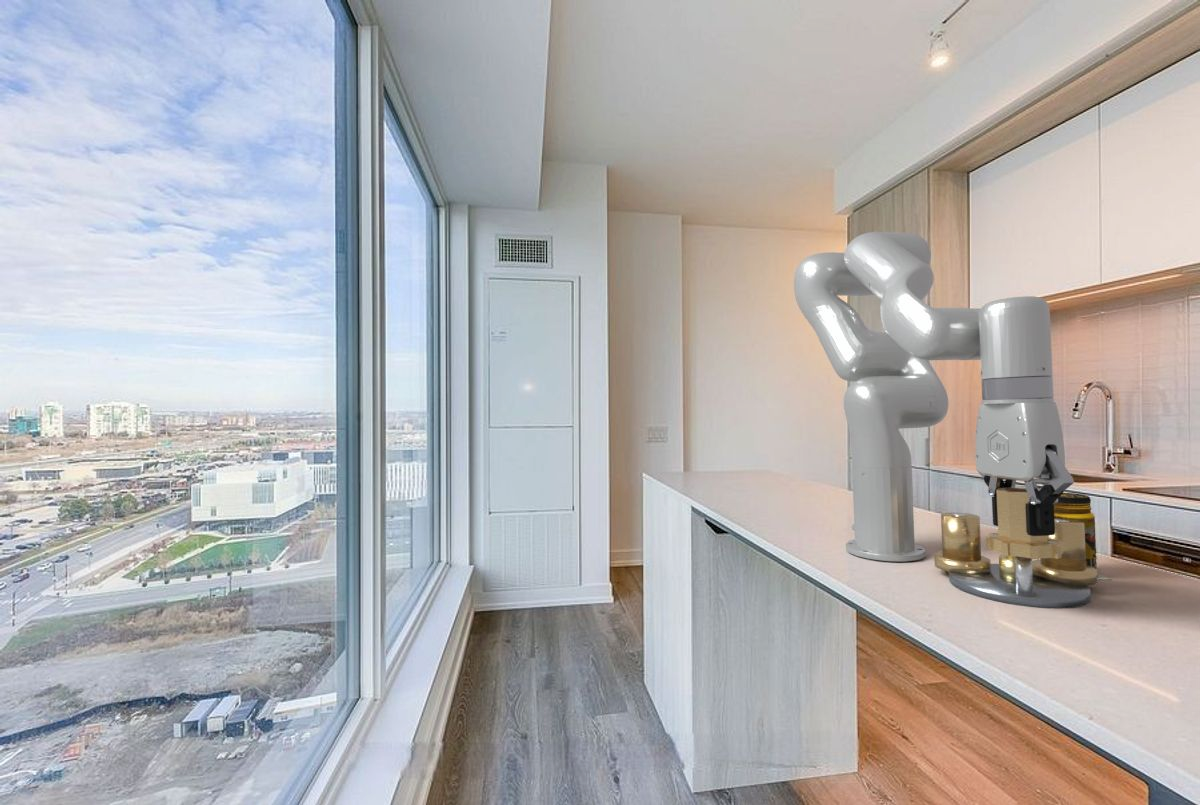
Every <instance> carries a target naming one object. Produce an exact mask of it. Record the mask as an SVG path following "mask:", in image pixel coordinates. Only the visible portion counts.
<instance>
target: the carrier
mask: <svg viewBox="0 0 1200 805" xmlns="http://www.w3.org/2000/svg"><path fill="white" fill-rule="evenodd" d="M1054 521H1055V534H1054V535H1050V536H1048V538H1051V539H1055V540H1061V541H1063V554H1061V555H1062V558H1059V559H1056V558H1040V559H1031V558H1025V557H1017V556H1006V555H998V563H991V559H990V558H989V557H986V556H984V555H982V544H981V543H982V542H981V540H982V539H981V538H982V537H981V517H980V516H979V515H976V514H974V513H973V514H972V513H968V512H967V513H966V512H942V513H941V514H940V527H941V551H939V552H935V553H934V554H933V555H934V556H933V557H934V567H935V568H937V569H939V570H941V571H945V572H948V582H949V583H950V584H951V585H952V586H953V587H955V588H957V589H958V590H960V591H963V592H964V593H967V594H969V595H972V596H976V597H979V598H983V599H987V600H991V601H993V602H1000V603H1005V604H1010V605H1011V604H1012V605H1015V606H1016V605H1017V606H1024V607H1032V608H1045V609H1046V608H1047V609H1067V608H1069V607H1070V608H1076V607H1077V606H1078V607H1081V605H1083V606H1085V605H1088V604H1089V603H1090V602H1091V600H1092V599H1091V588H1090V586H1093V585H1096V584H1098V580H1097V573H1098V569H1097V570H1096V569H1095V568H1093V567H1091V566H1088V565H1086V552H1085V529H1084V523H1083V522H1081V521H1077V520H1071V519H1062V518H1054ZM1088 602H1089V603H1088ZM1087 603H1088V604H1087ZM1078 607H1077V608H1078ZM1070 608H1069V609H1070Z"/></svg>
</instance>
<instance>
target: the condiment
mask: <svg viewBox="0 0 1200 805" xmlns="http://www.w3.org/2000/svg"><path fill="white" fill-rule="evenodd" d="M1091 501H1092V499H1091V497H1090V496H1088V495H1086V494H1082V493H1081V494H1080V493H1071V492H1063V493H1062V494H1061V495H1060V497H1059V498H1058V503H1057V504H1054V518H1062V519H1071V520H1077V521H1081V522H1083V523H1084V529H1085V552H1086V565H1088V566H1091V567H1093V568H1095V569H1096V570H1097V571H1098V567H1097V565H1098V564H1097V546H1096V521H1095V520H1096V518H1095V515H1094V513H1093V512H1092V511H1091V510H1092V507H1091V506H1092V505H1091V504H1092V503H1091ZM1098 580H1104V581H1106V580H1112V578H1111V577H1108V576H1106V575H1102V574H1100V573H1098V572H1097V581H1098Z"/></svg>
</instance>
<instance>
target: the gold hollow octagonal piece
mask: <svg viewBox="0 0 1200 805" xmlns="http://www.w3.org/2000/svg"><path fill="white" fill-rule="evenodd" d="M1039 490H1040V489H1039V488H1038V491H1039ZM996 491H997V513H998V526H997V529H998V530H997V531H998V532H996V533H995V532H990V533H988V536H985V548H986V550H987V551H993V552H997V553H999V554H1001V555H1006V556H1017V557H1025V558H1031V559H1032V560H1040V558H1056V559H1059V558H1062V555H1061V554H1063V541H1061V540H1055V539H1051V538H1048V536H1031V535H1028V534H1027V531H1026V509H1025V506H1026V504H1031V503H1030V501H1029V497H1028V494H1027V490H1026V487H1016V486H1015V487H1011V488H998V489H997V490H996Z"/></svg>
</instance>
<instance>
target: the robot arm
mask: <svg viewBox="0 0 1200 805" xmlns="http://www.w3.org/2000/svg"><path fill="white" fill-rule="evenodd" d="M931 258H932V252H931V247H930V245H929V244H928V242H927V240H926V239H925V238H923V237H922V236H921V235H919V234H916V233H910V232H893V231H892V232H891V231H890V232H889V231H871V232H869V231H868V232H865V233H863V234H859V235H858V236H856V237H854V238H853V239H852V240H851V241H850V242H849V243H848V244H847V246H846V248H845V250H844V252H828V251H827V252H820V253H815V254H812V255H809V256H807V257H805V258H804V259H802V260H801V261H800V262H799V264H798V265H797V266H796V270H795V272H794V278H793V291H794V296H795V300H796V303H797V305H798V308H799V310H800V312H801V313H802V315H803V316H804V319H806V320H807V322H808V323H809V325H810V326H811V327H812V329H813V330H814V332H815V334H816V336H817V337H818V341H819V342H820V345H821V346H822V349H823V350H824V352H825V354H826V357H827V359H828V360H829V362H830V365H831V367H832V368H833V370H834V372H835V373H836V375H837V376H838V377H839V378H840V379H841V380H844V381H847V382H852V383H851V384H850V385H849V386H848V387H847V389H846V390H845V392H844V397H843V409H844V414H845V418H846V421H847V422H846V423H847V428H848V431H849V438H850V448H851V449H850V450H851V469H852V470H851V472H852V494H853V495H852V497H853V498H852V499H853V502H852V503H853V524H852V525H851V530H853V532H854V539H851V540H849V541H847V542H846V543H845V550H846V551H847V552H848V553H850V554H851V555H853V556H857V557H860V558H862V559H863V558H864V559H868V560H874V561H883V562H896V563H897V562H913V561H919V560H922V559H924V558H925V557H926V549H925V548H924V547H923V546H921V545H919V544H916V543H915V521H914V520H915V518H914V496H913V495H914V492H913V491H914V490H913V487H914V486H913V466H912V454H911V451H910V448H909V445H908V443H907V442H906V440H905V438H904V436H903V435H902V433H901V432H900V429H920V428H929V427H933V426H936V425H937V424H939V423H941V422H942V421H943V420H944V419H945V417H946V416H947V413H948V410H949V397H948V393H947V391H946V388H945V386H944V384H943V381H942V380H941V379H940V377H939V375H938V374H937V372H936V371H935V369H934V367H933V366H932V364H931V363H930V361H951V360H953V361H958V360H959V361H980V377H981V398H982V399H981V400H982V401H981V402H982V403H979V406H978V411H977V416H976V426H975V440H974V441H975V442H974V443H975V444H974V445H975V447H974V449H975V450H974V452H975V454H974V455H975V456H974V457H975V458H974V460H975V469H976V471H977V473H978V475H980V476H981V477H982V478H983V481H984V483H985V485H986V486H987V488H988V489H987V493H988V495H989V496H990V497H991V507H992V508H991V510H992V511H991V512H992V525H994V526H995V527H998V513H997V491H996V490H997V489H998V488H1011V487H1016V484H1017V483H1016V482H1017V481H1020V482H1024V486H1025V488H1026V490H1027V494H1028V497H1029V501H1030V503H1031V504H1026V506H1025V509H1026V531H1027V534H1028V535H1031V536H1050V535H1054V534H1055V521H1054V504H1057V503H1058V498H1059V497H1060V495H1061V494H1062V493H1065V492H1064V491H1066V490H1068V488H1069V487H1071V486H1072V485H1073V484H1074V482H1075V480H1074V477H1073V476H1072V475H1071V472H1069V470H1068V469H1067V468H1066V455H1065V453H1066V452H1065V443H1064V434H1063V428H1062V423H1061V418H1060V414H1059V411H1058V407H1057V403H1056V401H1054V400H1055V398H1054V380H1053V379H1054V377H1053V376H1054V375H1053V358H1052V357H1053V356H1052V355H1053V353H1052V338H1051V337H1052V332H1051V331H1052V330H1051V312H1050V311H1051V310H1050V304H1049V303H1048V301H1047V300H1046V299H1044V298H1043V297H1041V296H1015V297H1014V296H1013V297H1008V298H1007V297H1006V298H1001V299H1000V298H999V299H996V300H992V301H989V302H987V303H984V305H982V306H981V307H980V308H974V307H973V308H967V307H932V306H930V305H929V304H928V303H926V302H924V301H923V300H924V298H926V296H927V295H928V294H929V293H930V291H931V289H932V288H933V284H934V280H935V276H934V272H933V270H932V268H931V266H930V264H931ZM873 295H874V296H876V298H877V299H879V300H880V307H879V312H880V320H881V321H880V322H881V324H882V327H883V330H884V331H873V330H870V329H869V328H868V327H867V326H866V325H865V322H864V321H863V319H862V318H861V316H860V314H859V313H858V312H857V310H856V309H855V308H854V307H853V306H851V304H849V303H848V302H846V301H845V300H843V299H842V298H840V296H843V297H844V296H848V297H849V296H850V297H851V296H855V297H856V296H857V297H864V296H865V297H867V296H873ZM1038 485H1042V487H1041V488H1040V489H1039V488H1038ZM1038 489H1039V491H1038Z"/></svg>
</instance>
